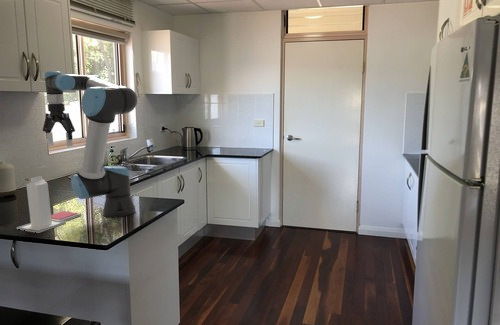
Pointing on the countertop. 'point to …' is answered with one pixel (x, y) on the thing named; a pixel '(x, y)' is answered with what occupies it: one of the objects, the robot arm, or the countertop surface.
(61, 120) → the robot arm
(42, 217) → the milk
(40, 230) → the marked square
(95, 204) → the countertop surface
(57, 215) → the ink pad
